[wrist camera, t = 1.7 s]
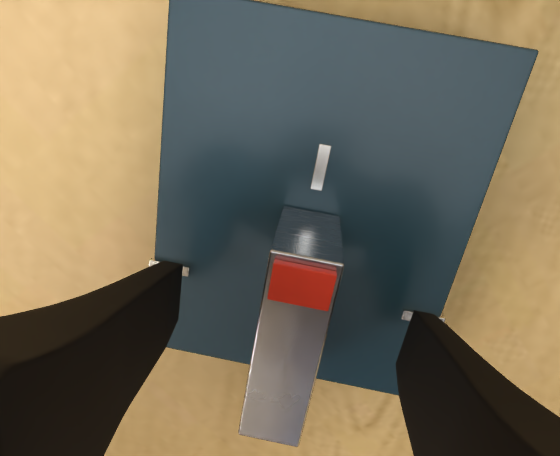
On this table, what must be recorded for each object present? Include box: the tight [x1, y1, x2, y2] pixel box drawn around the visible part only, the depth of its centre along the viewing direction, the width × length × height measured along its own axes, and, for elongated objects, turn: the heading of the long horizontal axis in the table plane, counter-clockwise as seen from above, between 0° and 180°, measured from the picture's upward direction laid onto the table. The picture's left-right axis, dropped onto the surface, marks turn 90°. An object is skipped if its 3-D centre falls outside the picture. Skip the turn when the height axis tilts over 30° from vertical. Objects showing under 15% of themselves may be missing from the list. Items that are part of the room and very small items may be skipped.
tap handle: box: [238, 206, 344, 447], centre depth 12 cm, size 6×2×4 cm, turn 170°
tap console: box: [149, 0, 538, 395], centre depth 14 cm, size 14×10×3 cm
